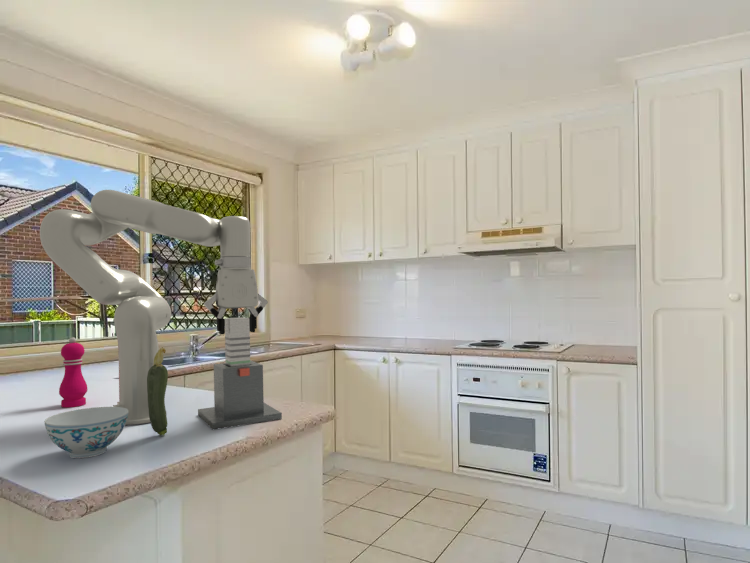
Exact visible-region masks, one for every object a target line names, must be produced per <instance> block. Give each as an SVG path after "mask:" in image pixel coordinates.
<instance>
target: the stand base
mask: <svg viewBox="0 0 750 563" xmlns="http://www.w3.org/2000/svg"><path fill="white" fill-rule="evenodd" d="M213 397H214V400H213V402H214V404H213V406H212V407H205V408H204V407H203V408H198V409H197V416H198V417H199V418H201V419H202V421H203V422H205V424H207V425H208V427H209V428H211V430H213V429H214V430H219V429H218V428H221V429H225V428H224V427H227V428H232V427H231V426H233V427H239V426H238V425H240V426H245V425H251V424H256V423H257V424H258V423H265V422H271V421H278V420H281V419H282V417H283V416H282V414H283V413H282V412H281V411H280V410H277V409H276V408H274V407H273V406H271V405H269V404H267V403H265V402H264V400H265V399H264V365H263V364H261V363H258V362H257V361H256V362H255V361H253V360H250V365H246V366H235V367H228V366H226V362H224V363H213ZM282 420H283V419H282Z"/></svg>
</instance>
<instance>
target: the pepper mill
mask: <svg viewBox="0 0 750 563" xmlns="http://www.w3.org/2000/svg"><path fill="white" fill-rule="evenodd" d="M76 341H77V339H76V337H75V336H74V337H70V338H69V340H68V342H69V343H66V344H64V345H63V346H62V347H61V349H60V355H61V357H62V358H63V360H62V363H63V364H62V365H64V375H63V379H62V380H61V382H60V385H59V388H58V394H59V396H60V397H61V398H62V399H61V401H60V404H61V405H60V406H61V408H77V407H81V406H85V405H86V403H87V398H86V397H85V395H86V394H87V392H88V389H89V388H88V385H87V382H86V380H85V378H84V376H83V373H82V364H83V356H84V354H85V346H84V345H83V344H81V343H79V342H76Z"/></svg>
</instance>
